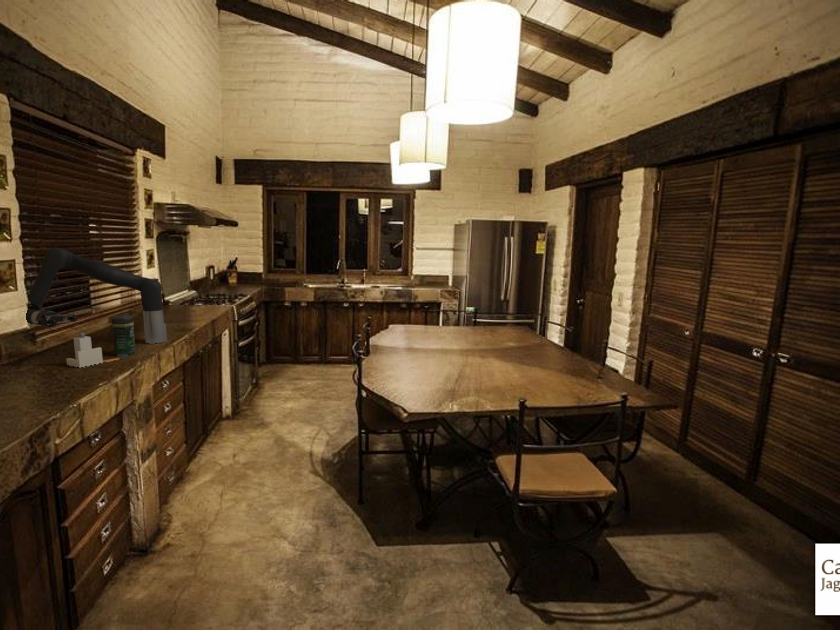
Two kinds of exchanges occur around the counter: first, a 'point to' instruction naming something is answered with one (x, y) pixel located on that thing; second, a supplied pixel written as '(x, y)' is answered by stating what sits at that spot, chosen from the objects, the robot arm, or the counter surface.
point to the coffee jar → (123, 334)
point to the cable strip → (111, 360)
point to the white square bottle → (82, 343)
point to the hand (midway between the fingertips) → (65, 320)
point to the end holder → (86, 358)
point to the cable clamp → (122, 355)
